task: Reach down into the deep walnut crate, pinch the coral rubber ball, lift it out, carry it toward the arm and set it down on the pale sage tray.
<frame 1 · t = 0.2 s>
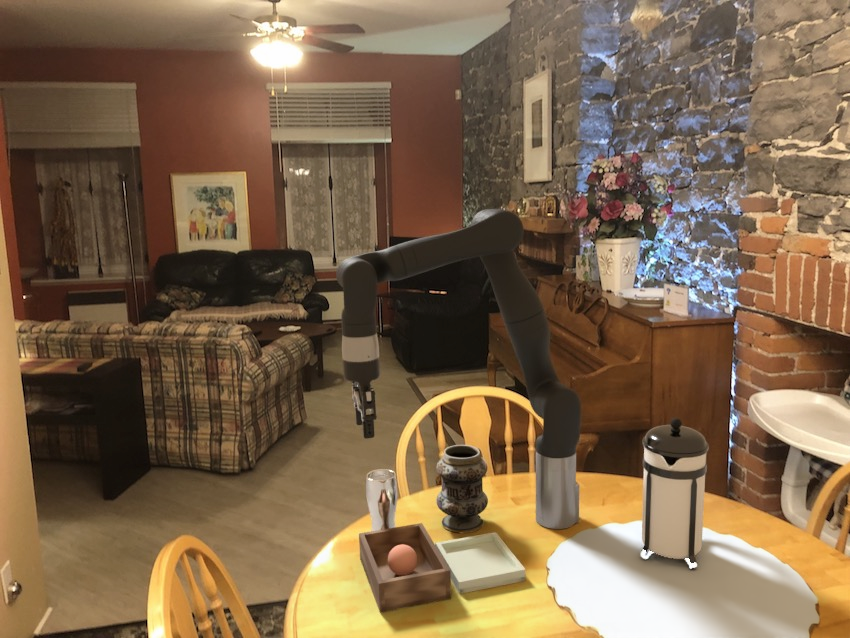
hand: (365, 430, 145), 28 cm above the table, fingers open, 8 cm apart
tray: (478, 566, 145), on the table
apothecary jar: (462, 523, 164), on the table
coffee press: (669, 550, 149), on the table
crate: (403, 577, 141), on the table
ball: (402, 559, 141), point 4 cm above the table, touching crate
beer glass: (384, 537, 159), on the table
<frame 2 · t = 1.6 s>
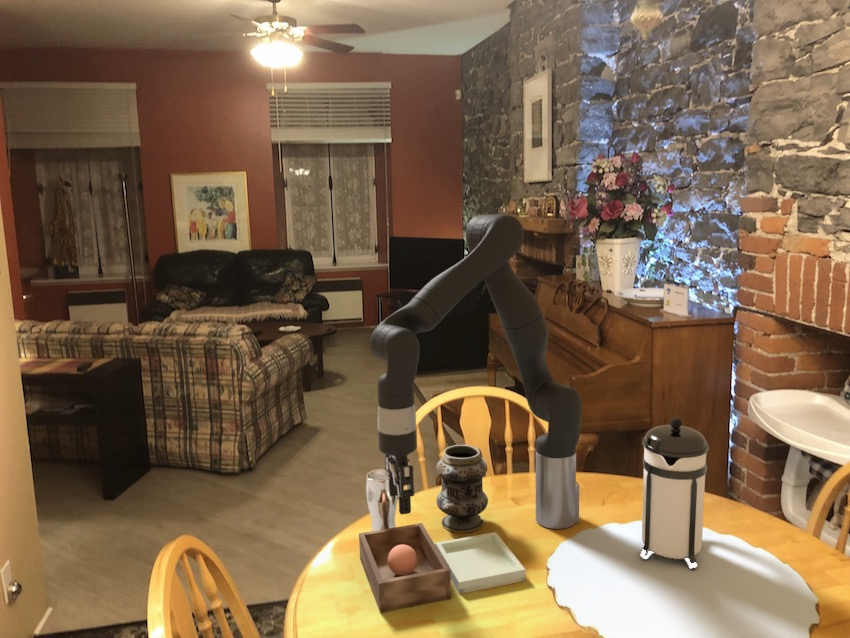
hand: (399, 503, 138), 16 cm above the table, fingers open, 8 cm apart
nothing on the table moved.
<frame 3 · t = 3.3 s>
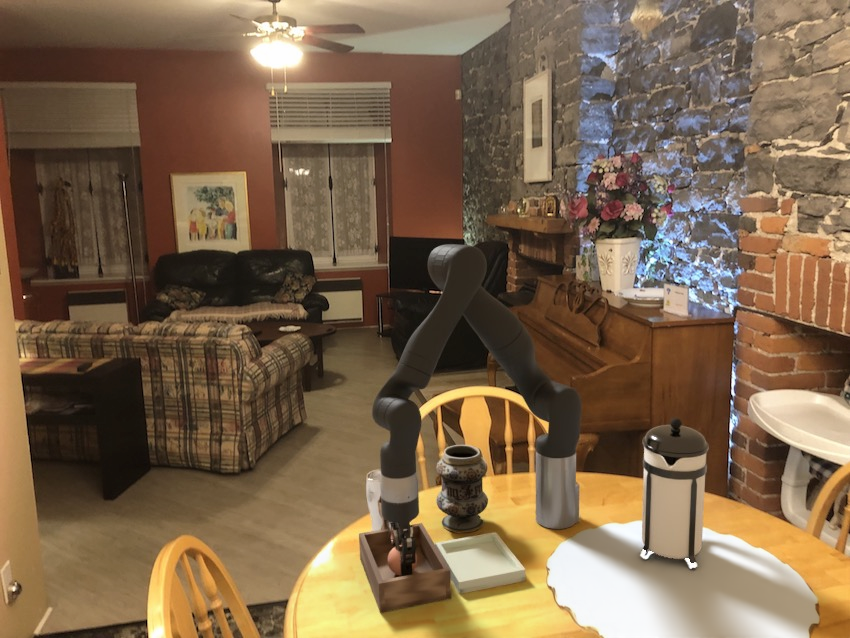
hand: (402, 569, 141), 2 cm above the table, fingers closed on ball, 6 cm apart
ball: (402, 560, 141), point 4 cm above the table, touching crate, gripper
everything else where it was.
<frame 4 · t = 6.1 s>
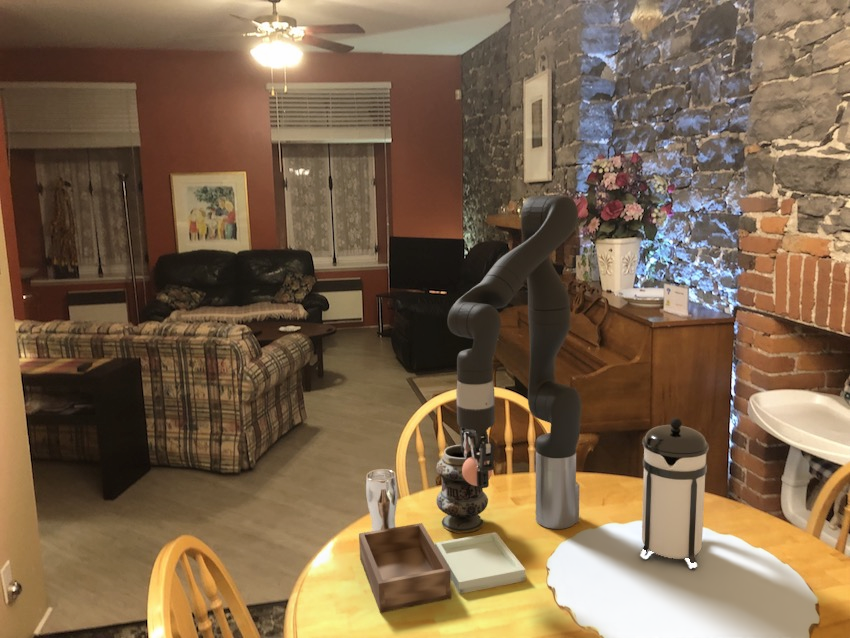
hand: (477, 480, 141), 19 cm above the table, fingers closed on ball, 6 cm apart
ball: (476, 470, 141), point 21 cm above the table, touching gripper
everything else where it was.
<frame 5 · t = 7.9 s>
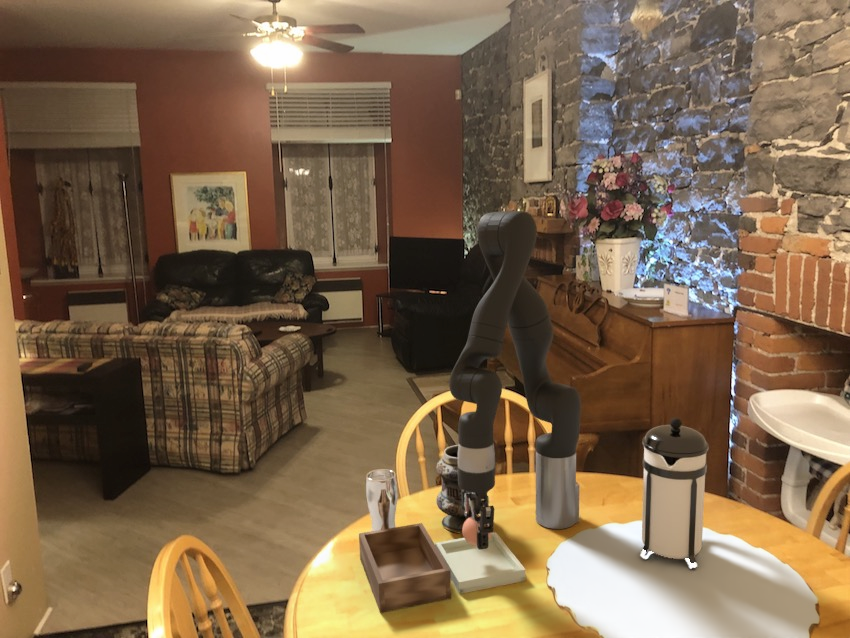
hand: (477, 540, 144), 6 cm above the table, fingers closed on ball, 6 cm apart
ball: (476, 530, 143), point 8 cm above the table, touching gripper
everything else where it was.
when the fingers open (3 cm above the table, at t = 9.0 s): ball drops 1 cm, resting on tray.
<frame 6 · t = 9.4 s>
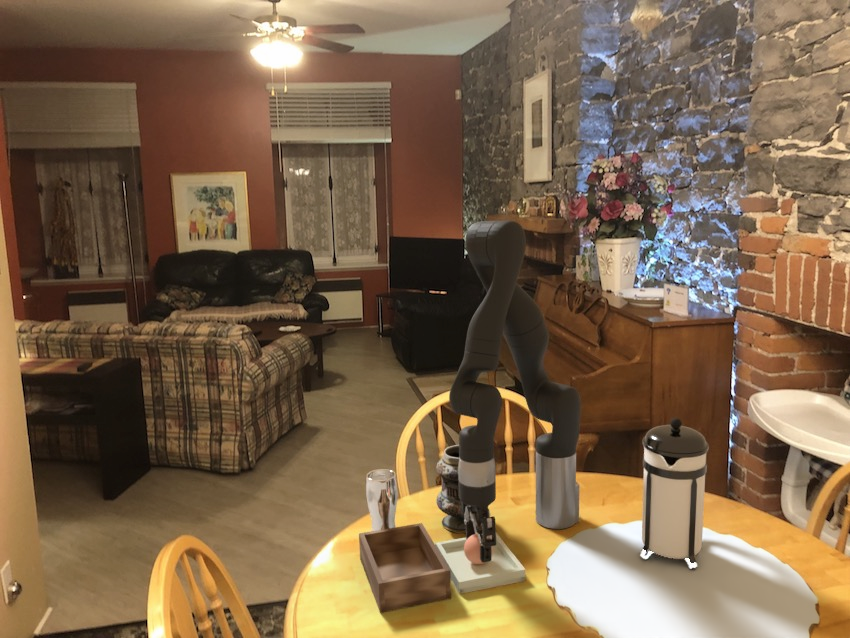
hand: (478, 550, 144), 4 cm above the table, fingers open, 8 cm apart
ball: (478, 548, 144), point 4 cm above the table, touching tray
everything else where it was.
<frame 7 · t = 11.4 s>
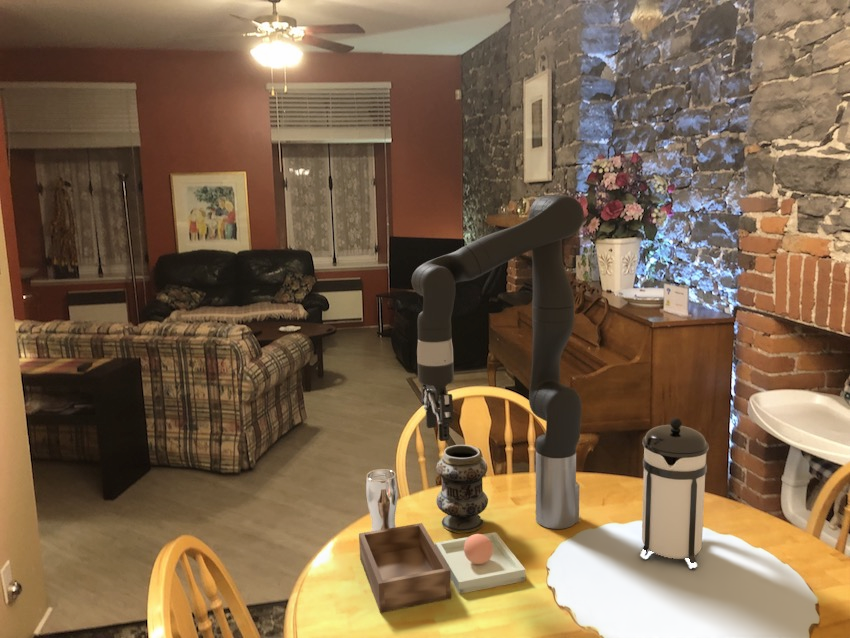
hand: (437, 433, 148), 26 cm above the table, fingers open, 8 cm apart
nothing on the table moved.
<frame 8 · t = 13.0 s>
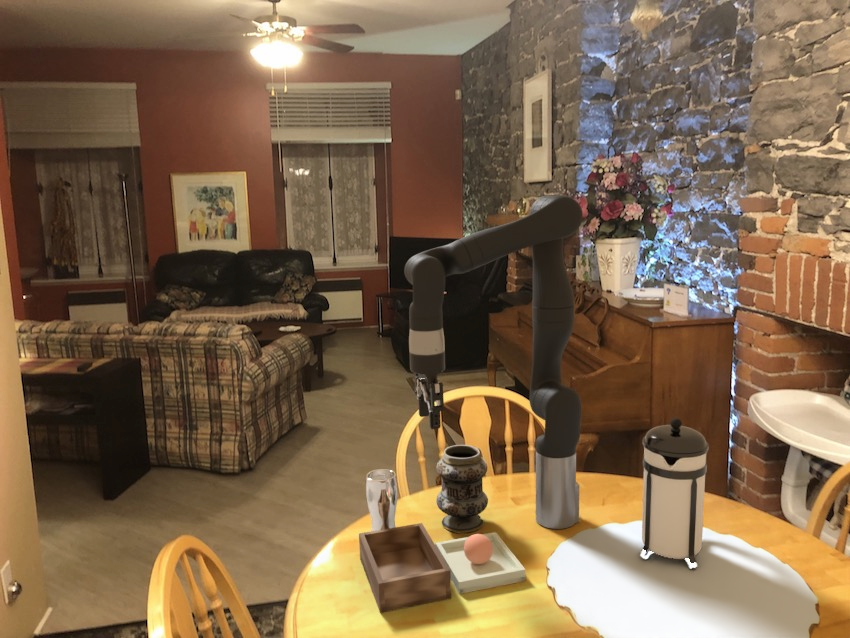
hand: (429, 422, 150), 28 cm above the table, fingers open, 8 cm apart
nothing on the table moved.
at the end: ball inside the target area on the tray (0.0 cm from its centre), point 4.0 cm above the tray's base; ball touching tray; the gripper is holding nothing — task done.
